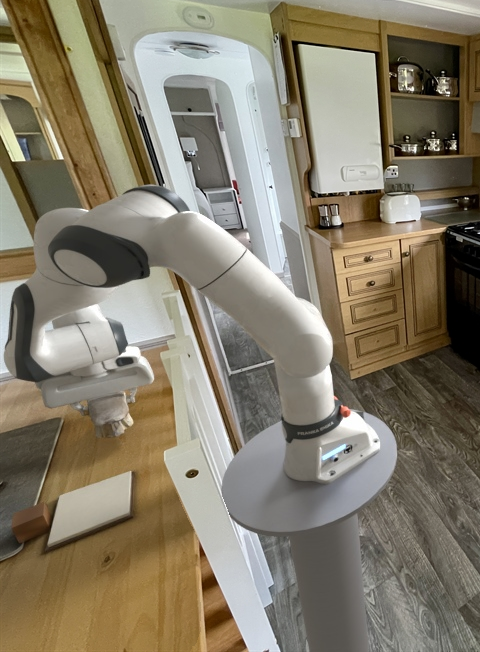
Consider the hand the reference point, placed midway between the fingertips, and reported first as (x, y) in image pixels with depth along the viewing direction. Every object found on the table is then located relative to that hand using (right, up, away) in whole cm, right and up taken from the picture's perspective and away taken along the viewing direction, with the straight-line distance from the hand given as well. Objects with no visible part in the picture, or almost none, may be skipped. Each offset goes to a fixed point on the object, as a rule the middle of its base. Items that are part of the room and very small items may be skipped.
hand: (109, 408), depth 97 cm
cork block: (+10, -16, -25) cm, 32 cm away
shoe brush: (0, -2, +1) cm, 2 cm away
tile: (+17, -14, -21) cm, 30 cm away
